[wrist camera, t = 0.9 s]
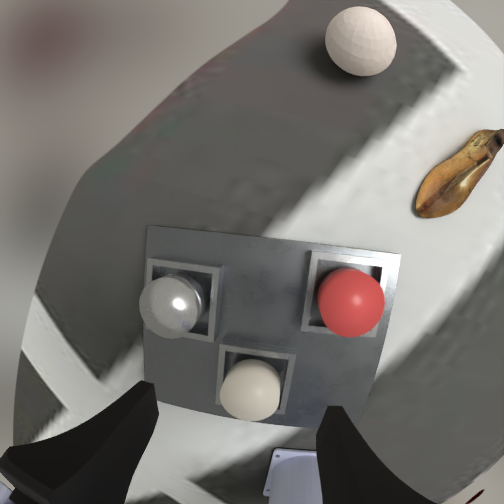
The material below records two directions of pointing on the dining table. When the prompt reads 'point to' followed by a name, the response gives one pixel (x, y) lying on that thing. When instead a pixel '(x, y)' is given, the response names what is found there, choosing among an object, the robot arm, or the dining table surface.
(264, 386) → the ivory button
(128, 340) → the dining table surface
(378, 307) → the red button
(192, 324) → the steel button
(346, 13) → the egg
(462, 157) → the shoe last
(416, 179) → the dining table surface
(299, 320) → the slate panel
